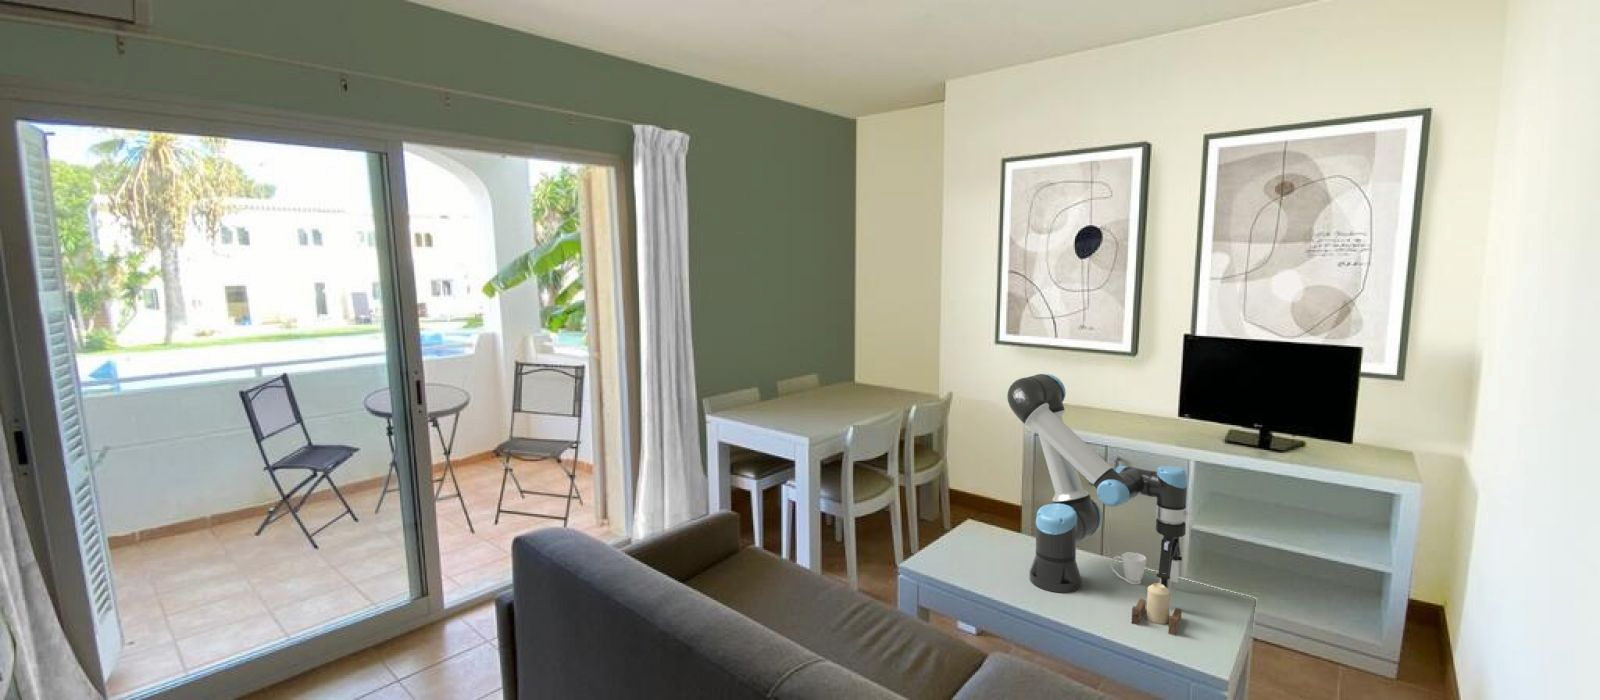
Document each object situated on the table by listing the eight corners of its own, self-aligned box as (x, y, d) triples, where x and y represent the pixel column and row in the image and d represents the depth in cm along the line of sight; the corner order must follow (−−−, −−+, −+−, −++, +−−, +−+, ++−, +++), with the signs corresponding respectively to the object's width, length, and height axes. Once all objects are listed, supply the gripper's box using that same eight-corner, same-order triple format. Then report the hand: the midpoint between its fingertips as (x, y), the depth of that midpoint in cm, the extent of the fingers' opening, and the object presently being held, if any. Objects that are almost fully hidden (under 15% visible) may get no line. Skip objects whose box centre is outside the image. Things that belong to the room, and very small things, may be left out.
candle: (1171, 625, 182) (1173, 590, 181) (1149, 623, 183) (1151, 588, 182) (1165, 615, 187) (1166, 581, 186) (1143, 613, 189) (1145, 579, 187)
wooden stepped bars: (1131, 623, 183) (1132, 608, 183) (1139, 608, 191) (1140, 593, 191) (1174, 635, 177) (1175, 619, 177) (1181, 619, 185) (1181, 604, 184)
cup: (1144, 588, 203) (1145, 563, 202) (1108, 580, 208) (1109, 556, 208) (1147, 579, 209) (1148, 554, 208) (1112, 572, 214) (1112, 548, 213)
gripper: (1177, 536, 182) (1175, 610, 184) (1192, 510, 201) (1190, 577, 203) (1147, 530, 186) (1145, 603, 189) (1164, 505, 206) (1162, 571, 208)
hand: (1168, 589), depth 196 cm, fingers open, 13 cm apart
